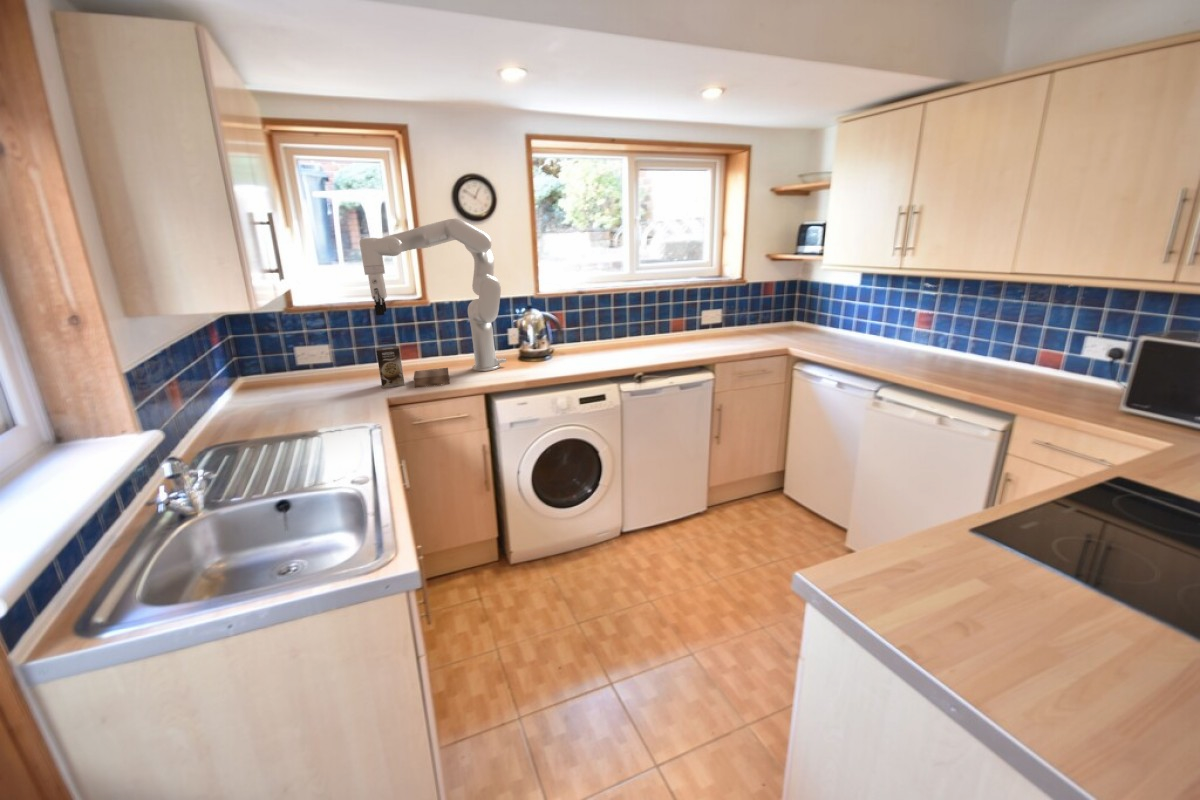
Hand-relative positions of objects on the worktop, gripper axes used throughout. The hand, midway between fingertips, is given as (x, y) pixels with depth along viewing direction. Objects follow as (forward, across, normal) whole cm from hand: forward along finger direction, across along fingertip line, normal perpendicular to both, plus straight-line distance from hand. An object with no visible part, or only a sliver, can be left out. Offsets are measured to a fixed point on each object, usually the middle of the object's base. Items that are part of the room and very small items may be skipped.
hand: (381, 313), depth 215 cm
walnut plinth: (+30, -2, -16) cm, 34 cm away
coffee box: (+31, 0, 0) cm, 31 cm away
